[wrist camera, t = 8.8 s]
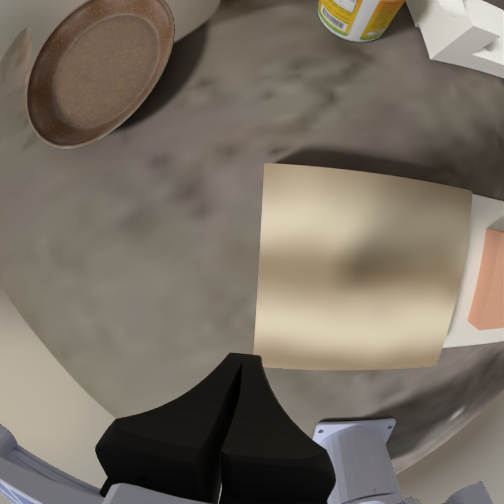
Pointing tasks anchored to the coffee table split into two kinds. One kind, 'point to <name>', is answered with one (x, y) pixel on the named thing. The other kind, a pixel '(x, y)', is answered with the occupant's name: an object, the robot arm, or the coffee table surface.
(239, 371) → the robot arm
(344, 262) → the beige flat block
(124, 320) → the coffee table surface
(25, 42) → the coffee table surface
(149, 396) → the coffee table surface
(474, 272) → the mat
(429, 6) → the bracket
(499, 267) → the tile
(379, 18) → the supplement bottle
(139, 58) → the saucer
